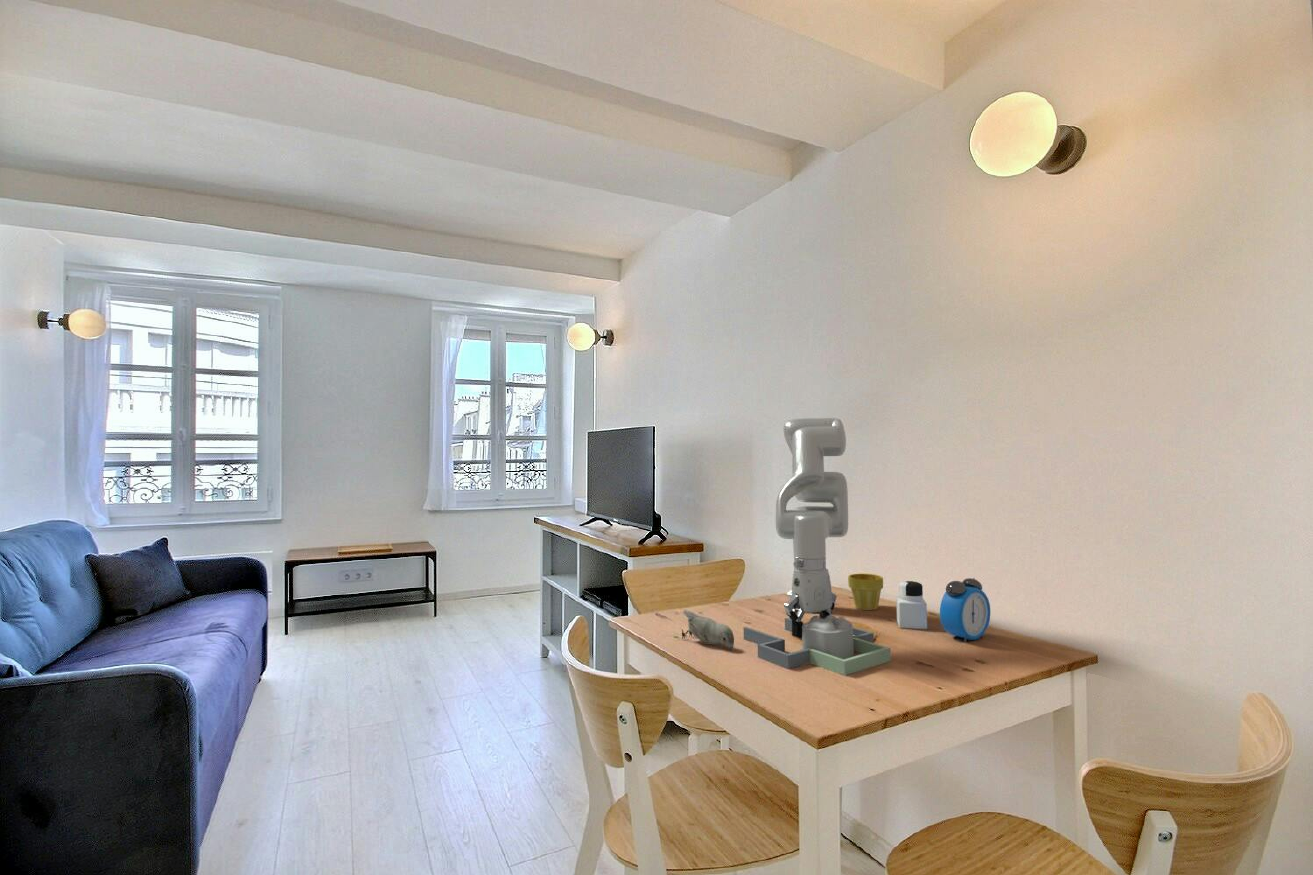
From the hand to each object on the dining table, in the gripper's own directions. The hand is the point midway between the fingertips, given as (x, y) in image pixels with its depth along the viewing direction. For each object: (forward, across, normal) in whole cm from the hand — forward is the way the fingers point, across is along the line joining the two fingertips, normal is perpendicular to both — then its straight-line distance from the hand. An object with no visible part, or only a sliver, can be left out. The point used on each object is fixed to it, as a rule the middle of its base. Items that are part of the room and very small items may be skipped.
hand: (811, 633), depth 154 cm
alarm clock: (+4, +39, -16) cm, 43 cm away
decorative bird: (+4, -18, +18) cm, 26 cm away
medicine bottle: (+4, +38, -2) cm, 38 cm away
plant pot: (+4, +44, +18) cm, 48 cm away
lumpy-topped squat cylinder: (+4, 0, -6) cm, 7 cm away
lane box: (+4, 0, -1) cm, 4 cm away
